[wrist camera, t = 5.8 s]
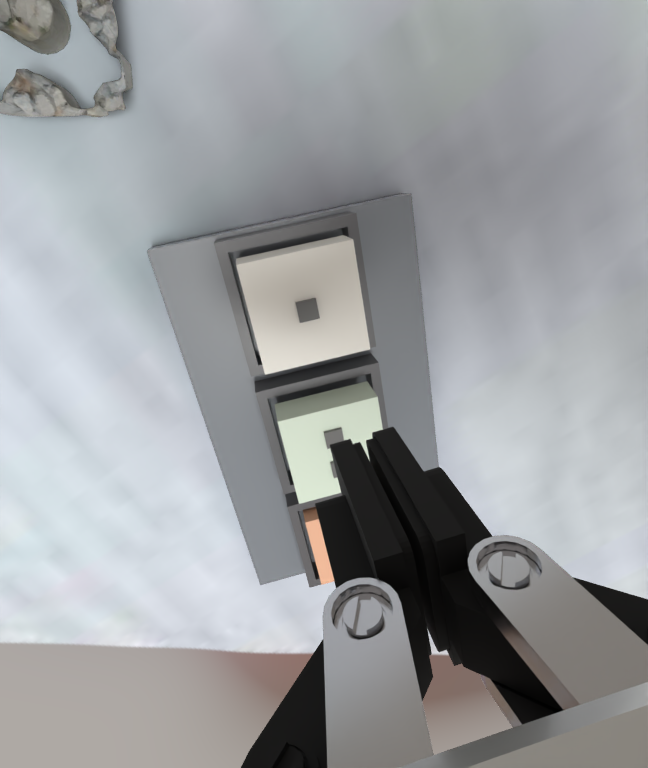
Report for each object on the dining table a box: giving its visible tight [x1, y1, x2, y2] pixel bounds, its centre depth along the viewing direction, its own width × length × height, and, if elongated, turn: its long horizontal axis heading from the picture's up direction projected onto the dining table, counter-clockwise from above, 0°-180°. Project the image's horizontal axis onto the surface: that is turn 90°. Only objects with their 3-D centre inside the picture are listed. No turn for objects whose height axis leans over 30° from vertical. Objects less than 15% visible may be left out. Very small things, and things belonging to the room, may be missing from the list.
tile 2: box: [275, 381, 383, 504], centre depth 24 cm, size 5×5×2 cm
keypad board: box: [147, 194, 439, 587], centre depth 26 cm, size 13×22×3 cm, turn 11°
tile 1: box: [236, 235, 370, 375], centre depth 21 cm, size 5×5×2 cm
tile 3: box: [303, 507, 334, 585], centre depth 28 cm, size 5×5×2 cm
